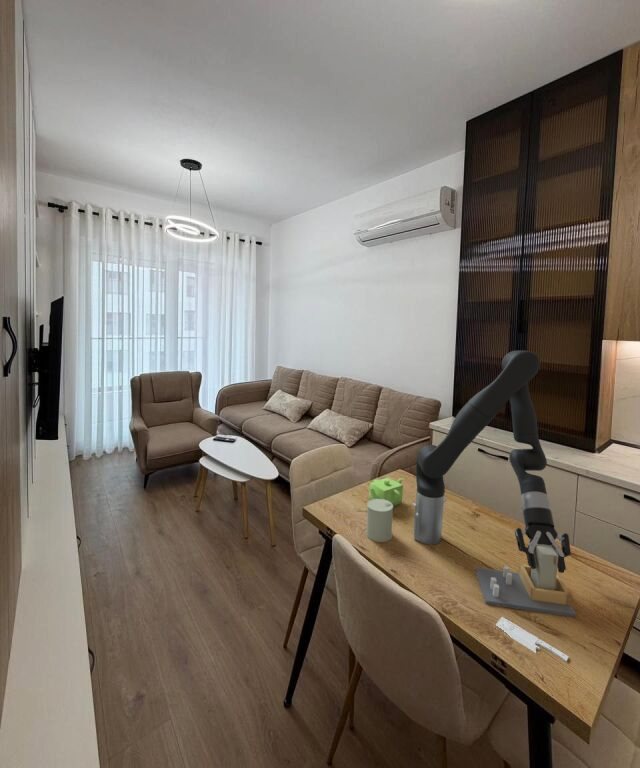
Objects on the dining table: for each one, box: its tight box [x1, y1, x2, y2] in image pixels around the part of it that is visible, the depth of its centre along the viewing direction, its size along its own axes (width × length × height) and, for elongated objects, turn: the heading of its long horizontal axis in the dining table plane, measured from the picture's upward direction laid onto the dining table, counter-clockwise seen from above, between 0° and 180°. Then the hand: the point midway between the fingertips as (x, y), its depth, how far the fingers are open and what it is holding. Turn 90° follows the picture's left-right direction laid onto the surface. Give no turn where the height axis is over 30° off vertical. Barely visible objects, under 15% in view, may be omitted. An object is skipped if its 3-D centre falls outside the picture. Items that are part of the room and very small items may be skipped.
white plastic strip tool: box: [495, 616, 570, 663], centre depth 89 cm, size 5×15×1 cm, turn 40°
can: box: [365, 499, 394, 543], centre depth 131 cm, size 9×9×12 cm
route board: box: [474, 563, 577, 618], centre depth 105 cm, size 22×14×4 cm, turn 79°
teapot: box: [367, 477, 405, 507], centre depth 153 cm, size 15×13×11 cm
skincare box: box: [531, 544, 558, 591], centre depth 104 cm, size 6×4×12 cm
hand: (547, 570), depth 102 cm, fingers open, 6 cm apart
